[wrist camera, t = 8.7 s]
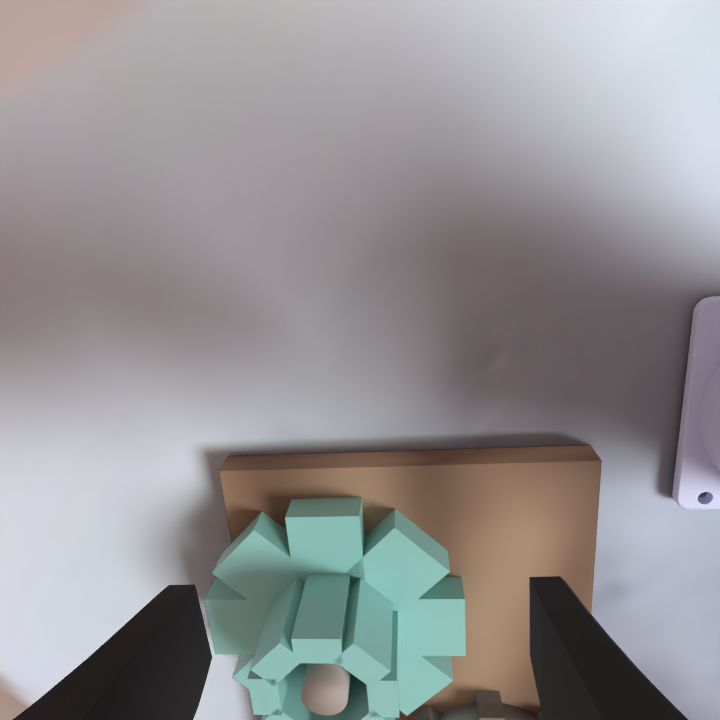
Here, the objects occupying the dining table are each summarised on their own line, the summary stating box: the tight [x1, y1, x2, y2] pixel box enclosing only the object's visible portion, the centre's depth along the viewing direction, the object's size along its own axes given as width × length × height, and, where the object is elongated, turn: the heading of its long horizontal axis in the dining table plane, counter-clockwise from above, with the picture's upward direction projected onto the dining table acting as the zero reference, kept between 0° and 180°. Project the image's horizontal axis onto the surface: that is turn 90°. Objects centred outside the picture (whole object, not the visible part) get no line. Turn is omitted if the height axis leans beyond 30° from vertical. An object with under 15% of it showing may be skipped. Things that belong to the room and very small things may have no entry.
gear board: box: [219, 445, 602, 720], centre depth 21 cm, size 14×19×5 cm
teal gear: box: [204, 498, 466, 720], centre depth 20 cm, size 10×10×4 cm
